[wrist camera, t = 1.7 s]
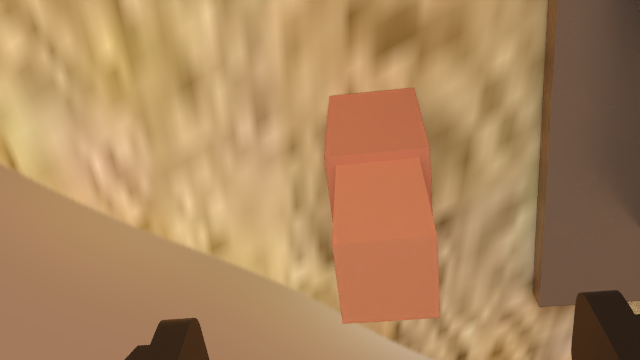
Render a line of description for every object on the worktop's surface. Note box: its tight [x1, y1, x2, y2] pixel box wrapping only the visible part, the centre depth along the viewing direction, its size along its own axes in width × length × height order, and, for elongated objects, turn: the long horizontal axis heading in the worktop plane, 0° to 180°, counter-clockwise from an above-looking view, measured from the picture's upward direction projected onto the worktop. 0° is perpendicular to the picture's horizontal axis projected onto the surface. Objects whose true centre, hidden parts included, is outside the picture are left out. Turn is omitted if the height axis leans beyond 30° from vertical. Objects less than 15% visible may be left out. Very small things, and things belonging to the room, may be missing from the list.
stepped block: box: [324, 88, 440, 324], centre depth 18 cm, size 3×3×9 cm
